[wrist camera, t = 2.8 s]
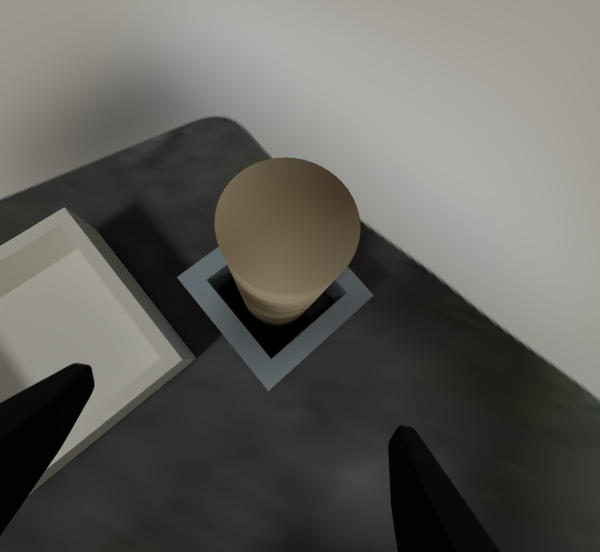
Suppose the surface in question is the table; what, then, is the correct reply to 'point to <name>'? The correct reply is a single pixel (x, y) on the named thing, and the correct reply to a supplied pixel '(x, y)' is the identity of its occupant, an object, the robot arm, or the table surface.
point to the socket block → (269, 371)
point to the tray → (81, 326)
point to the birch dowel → (285, 235)
